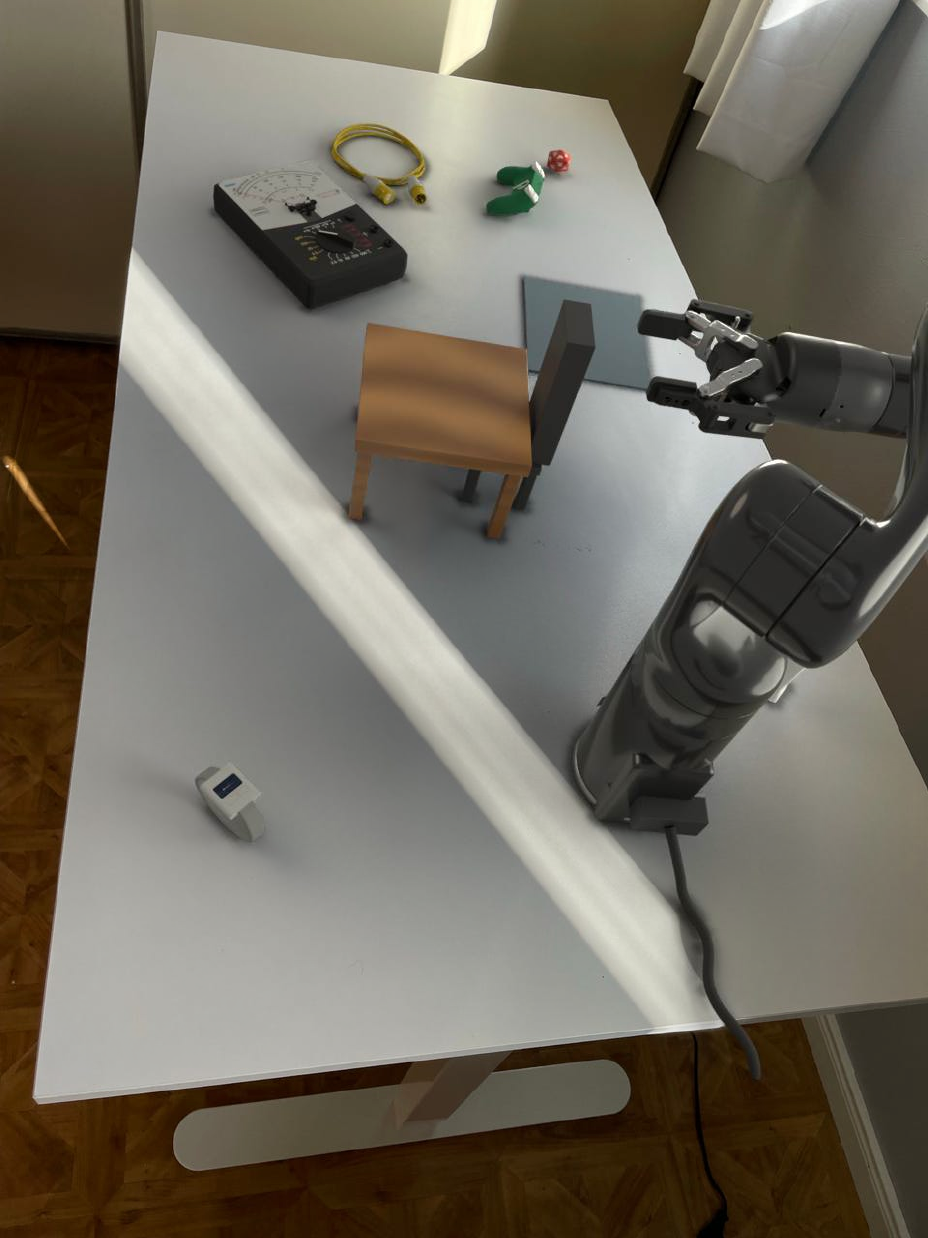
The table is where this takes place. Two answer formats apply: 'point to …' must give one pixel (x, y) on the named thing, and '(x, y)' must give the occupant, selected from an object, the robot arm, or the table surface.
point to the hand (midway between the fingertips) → (644, 353)
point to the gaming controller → (518, 190)
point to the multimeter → (309, 232)
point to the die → (558, 160)
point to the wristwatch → (232, 800)
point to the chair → (553, 392)
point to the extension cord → (375, 183)
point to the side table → (443, 409)
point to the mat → (613, 329)
